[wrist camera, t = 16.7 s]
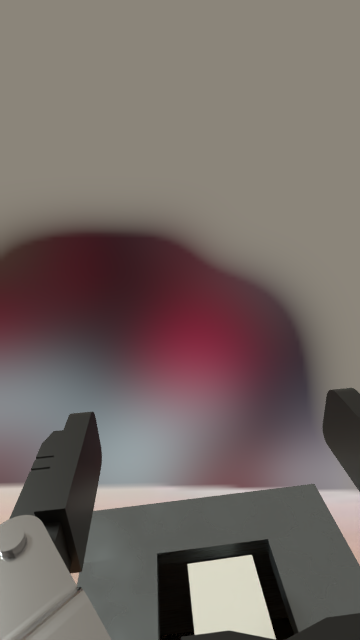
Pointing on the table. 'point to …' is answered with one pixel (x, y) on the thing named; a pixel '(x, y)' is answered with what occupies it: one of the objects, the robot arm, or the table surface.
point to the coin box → (213, 544)
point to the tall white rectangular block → (228, 597)
